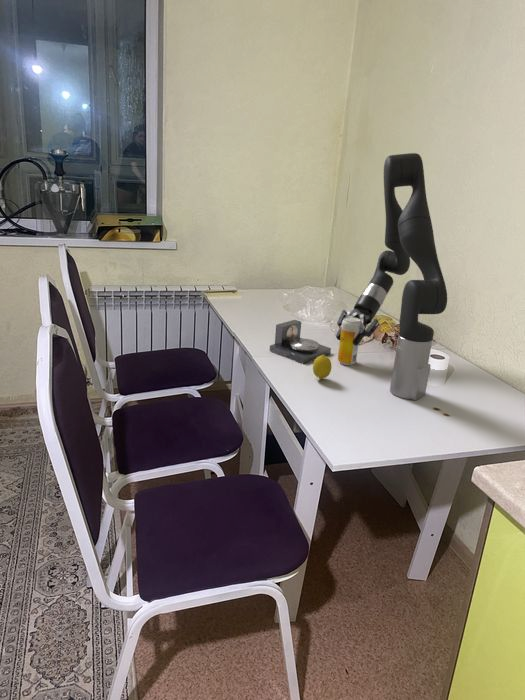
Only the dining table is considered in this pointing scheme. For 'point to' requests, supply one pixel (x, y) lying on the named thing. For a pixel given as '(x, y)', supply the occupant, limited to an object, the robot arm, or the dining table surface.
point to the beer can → (348, 340)
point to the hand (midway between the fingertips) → (346, 341)
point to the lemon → (322, 367)
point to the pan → (304, 344)
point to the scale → (288, 333)
